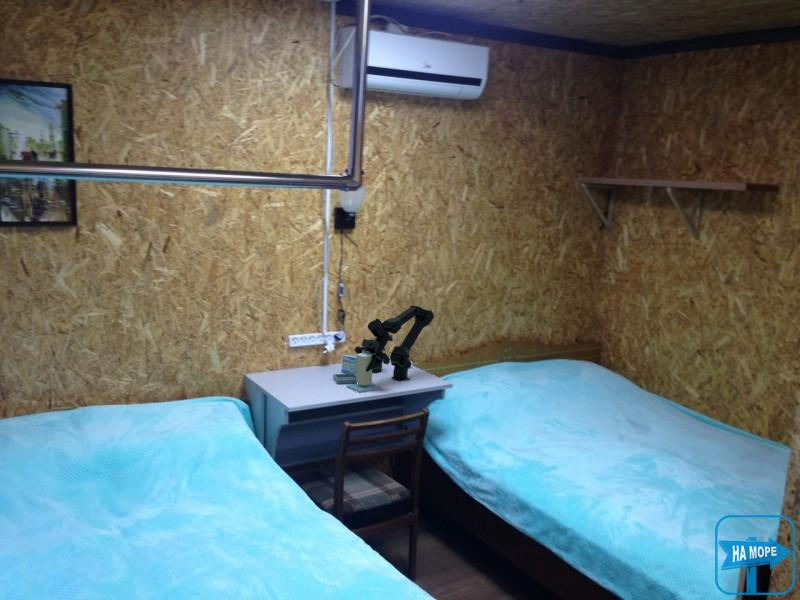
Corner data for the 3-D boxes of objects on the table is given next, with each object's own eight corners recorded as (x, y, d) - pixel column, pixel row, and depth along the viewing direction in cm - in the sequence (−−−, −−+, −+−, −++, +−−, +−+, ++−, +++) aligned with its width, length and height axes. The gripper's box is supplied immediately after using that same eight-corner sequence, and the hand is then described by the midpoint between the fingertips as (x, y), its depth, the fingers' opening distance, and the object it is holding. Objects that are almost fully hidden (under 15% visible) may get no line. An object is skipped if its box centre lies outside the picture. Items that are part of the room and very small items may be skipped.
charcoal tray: (354, 377, 330) (354, 373, 330) (359, 383, 320) (360, 379, 320) (333, 378, 327) (333, 374, 326) (337, 384, 317) (337, 380, 316)
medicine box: (341, 372, 338) (341, 355, 336) (346, 370, 342) (346, 353, 340) (354, 375, 334) (355, 358, 333) (359, 373, 338) (360, 356, 337)
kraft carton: (364, 381, 316) (364, 352, 313) (371, 383, 313) (372, 354, 310) (356, 383, 312) (356, 354, 310) (364, 385, 309) (364, 356, 306)
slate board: (367, 383, 320) (367, 381, 320) (380, 389, 313) (380, 387, 312) (346, 387, 313) (346, 385, 313) (359, 392, 305) (359, 390, 305)
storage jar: (358, 369, 345) (360, 340, 343) (375, 367, 351) (376, 338, 348) (368, 374, 337) (370, 344, 335) (385, 372, 343) (387, 343, 340)
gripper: (357, 329, 318) (339, 355, 311) (386, 336, 305) (368, 363, 299) (368, 343, 325) (351, 369, 318) (397, 350, 312) (380, 378, 306)
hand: (362, 369), depth 310 cm, fingers closed on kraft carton, 5 cm apart
